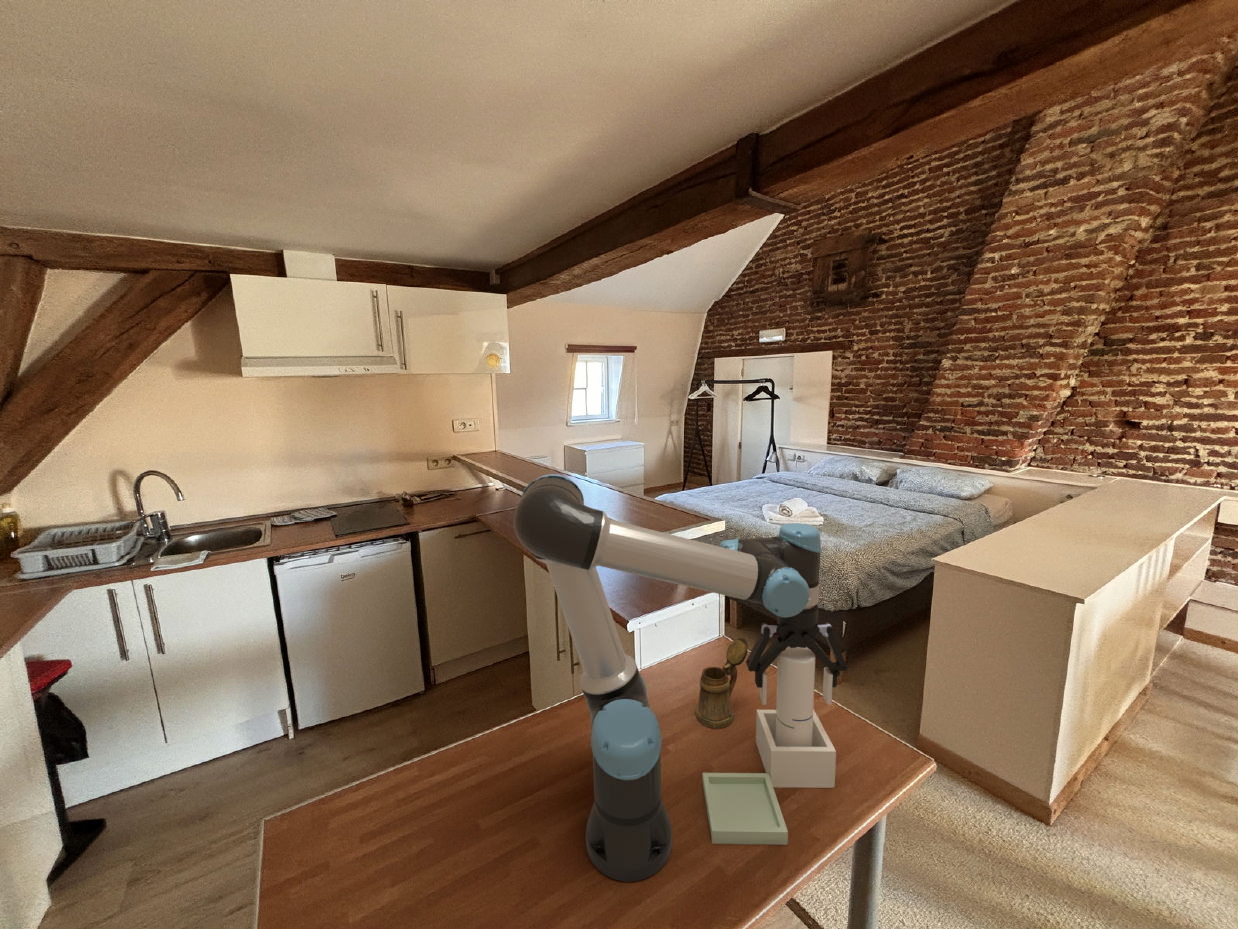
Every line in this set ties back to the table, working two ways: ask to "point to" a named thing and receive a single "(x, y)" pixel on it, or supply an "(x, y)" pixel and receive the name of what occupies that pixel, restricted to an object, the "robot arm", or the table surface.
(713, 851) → the table surface
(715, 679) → the wooden mug
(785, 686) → the cylindrical container
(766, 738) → the hollow square frame
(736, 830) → the tray
